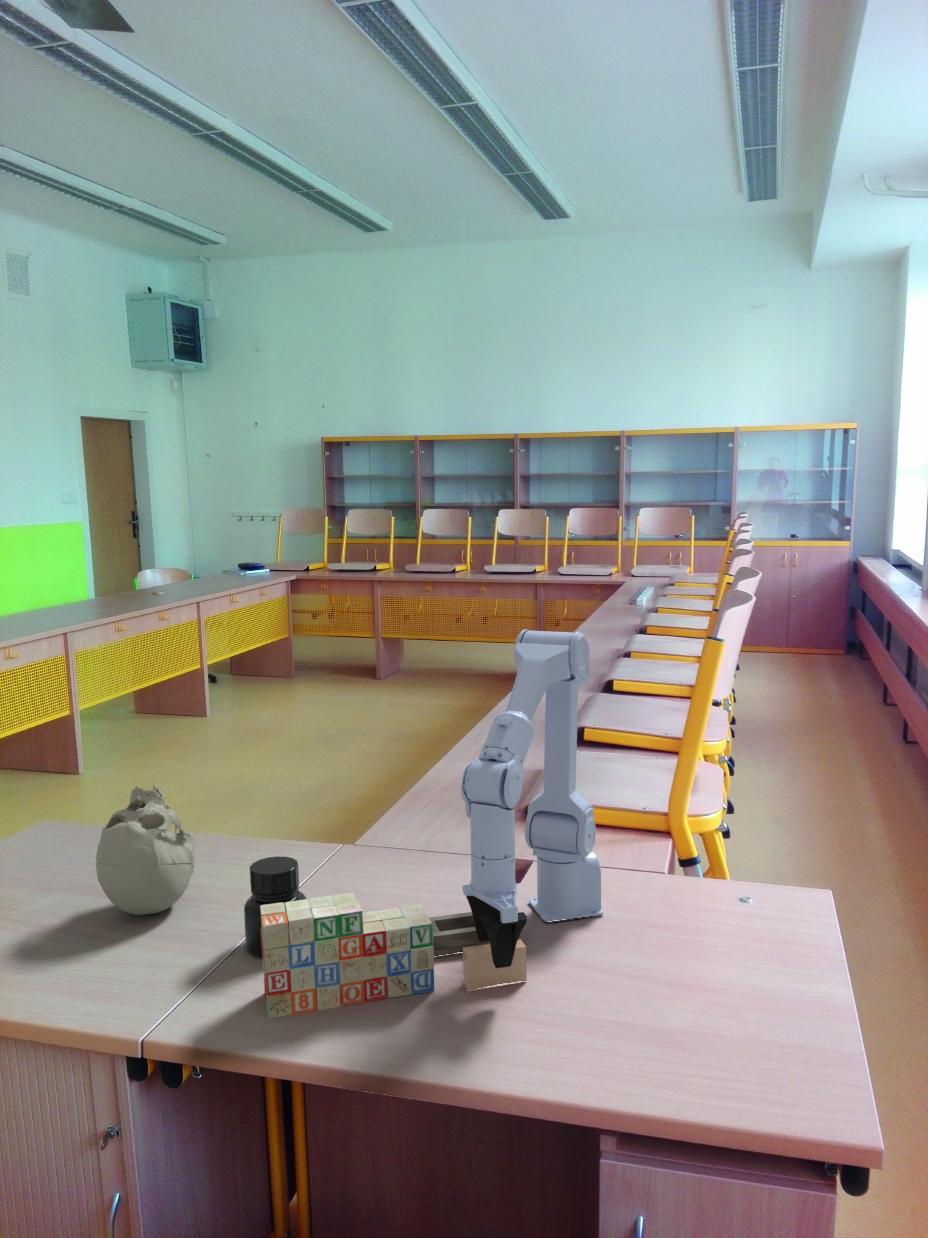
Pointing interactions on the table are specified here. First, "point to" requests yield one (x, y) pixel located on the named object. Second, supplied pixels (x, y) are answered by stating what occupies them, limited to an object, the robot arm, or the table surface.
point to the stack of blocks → (342, 954)
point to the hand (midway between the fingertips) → (494, 952)
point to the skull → (144, 855)
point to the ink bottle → (269, 894)
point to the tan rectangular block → (491, 967)
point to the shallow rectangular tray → (454, 933)
